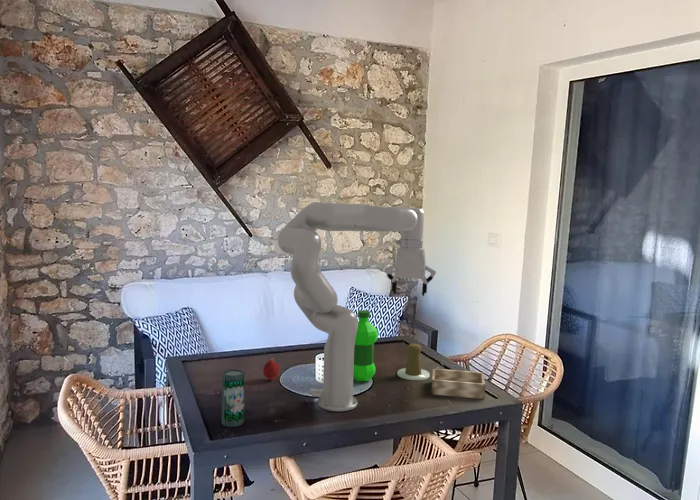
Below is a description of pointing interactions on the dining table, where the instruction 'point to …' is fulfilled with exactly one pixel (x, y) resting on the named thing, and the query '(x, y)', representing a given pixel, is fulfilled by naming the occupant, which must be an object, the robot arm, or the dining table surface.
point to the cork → (413, 360)
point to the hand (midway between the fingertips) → (409, 294)
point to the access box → (458, 383)
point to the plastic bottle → (364, 348)
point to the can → (233, 397)
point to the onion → (271, 369)
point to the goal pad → (423, 376)
